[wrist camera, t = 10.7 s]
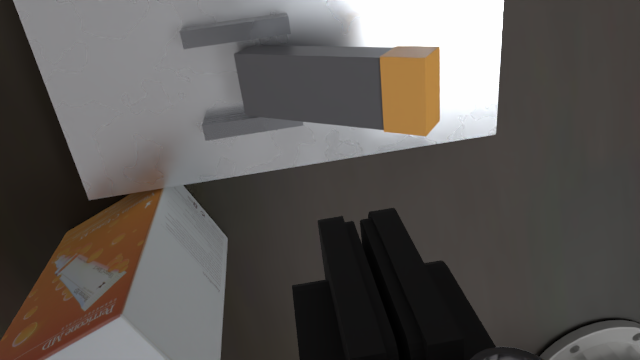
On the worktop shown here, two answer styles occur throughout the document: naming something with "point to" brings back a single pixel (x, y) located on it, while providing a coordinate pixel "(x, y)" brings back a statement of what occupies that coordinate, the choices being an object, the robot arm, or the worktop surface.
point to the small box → (129, 286)
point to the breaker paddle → (343, 85)
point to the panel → (236, 81)
